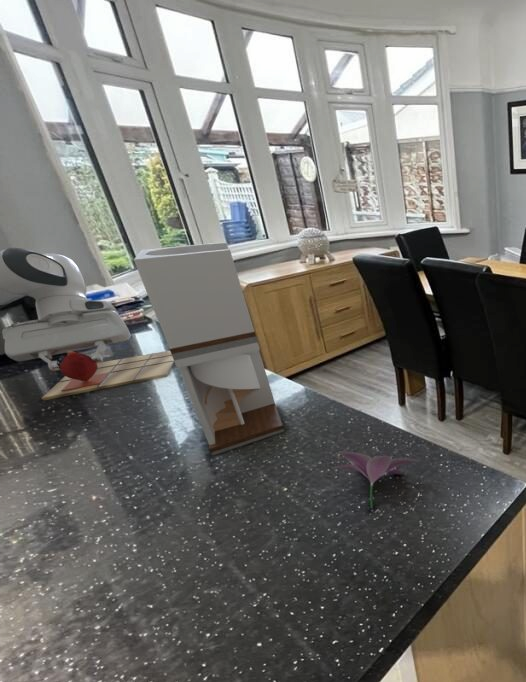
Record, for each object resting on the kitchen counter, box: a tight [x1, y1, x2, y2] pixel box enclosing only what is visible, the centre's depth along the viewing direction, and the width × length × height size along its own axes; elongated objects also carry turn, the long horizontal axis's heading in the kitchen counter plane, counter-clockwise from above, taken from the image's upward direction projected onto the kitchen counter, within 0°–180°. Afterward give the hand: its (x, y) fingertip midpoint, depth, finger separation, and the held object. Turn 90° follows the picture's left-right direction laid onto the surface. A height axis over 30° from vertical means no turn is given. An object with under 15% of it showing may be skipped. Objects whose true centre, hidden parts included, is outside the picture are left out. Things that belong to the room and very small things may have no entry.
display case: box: [133, 241, 285, 456], centre depth 69 cm, size 11×11×35 cm
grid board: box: [41, 350, 175, 401], centre depth 100 cm, size 22×18×2 cm
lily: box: [331, 450, 421, 509], centre depth 59 cm, size 12×12×10 cm
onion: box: [60, 351, 98, 381], centre depth 93 cm, size 6×6×8 cm
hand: (77, 365), depth 92 cm, fingers closed on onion, 5 cm apart
